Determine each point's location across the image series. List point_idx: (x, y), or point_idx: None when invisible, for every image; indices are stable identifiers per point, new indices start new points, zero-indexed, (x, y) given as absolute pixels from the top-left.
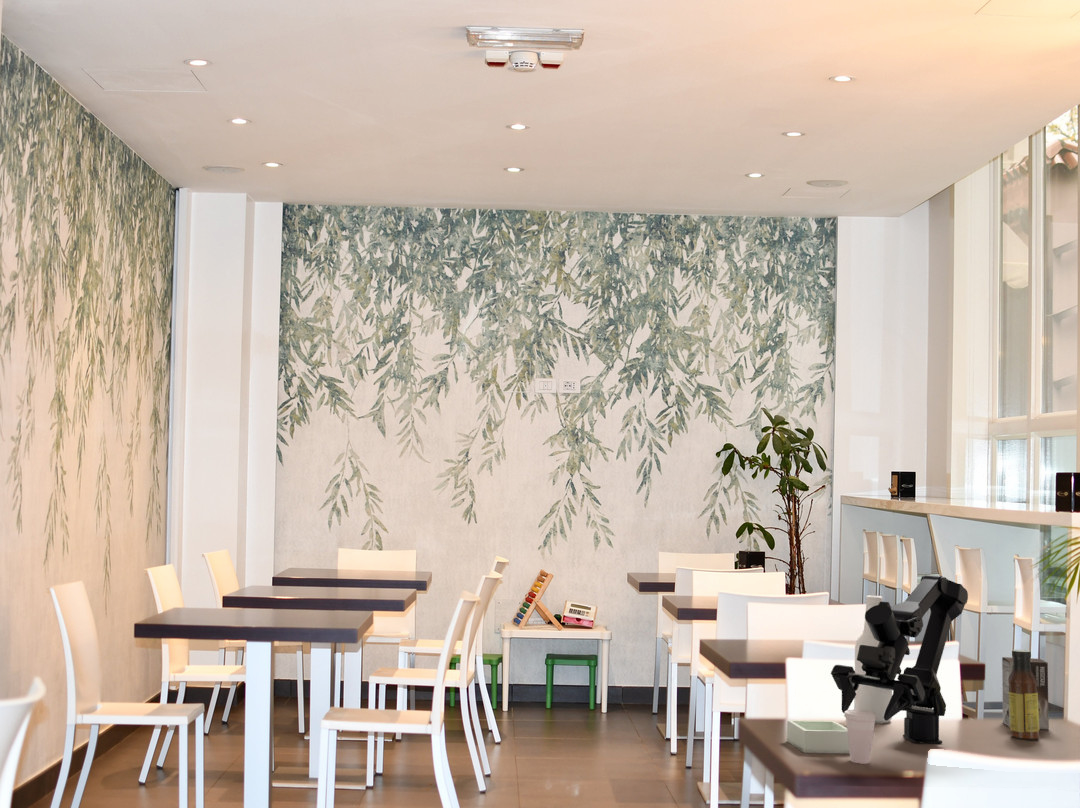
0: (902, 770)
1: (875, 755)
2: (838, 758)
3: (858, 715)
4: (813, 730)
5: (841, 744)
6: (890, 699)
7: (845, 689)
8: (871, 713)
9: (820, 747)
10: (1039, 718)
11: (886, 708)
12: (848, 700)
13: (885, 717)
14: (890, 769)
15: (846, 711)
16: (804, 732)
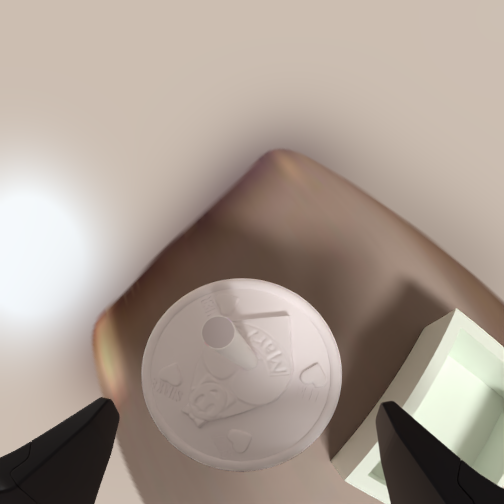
0: (127, 374)
1: (266, 497)
2: None
3: (207, 285)
4: (446, 344)
5: (363, 433)
6: (37, 464)
7: (467, 501)
8: (185, 426)
9: (405, 370)
10: None
11: (80, 428)
12: (405, 491)
13: (101, 397)
14: None
15: (324, 344)
16: (453, 311)
